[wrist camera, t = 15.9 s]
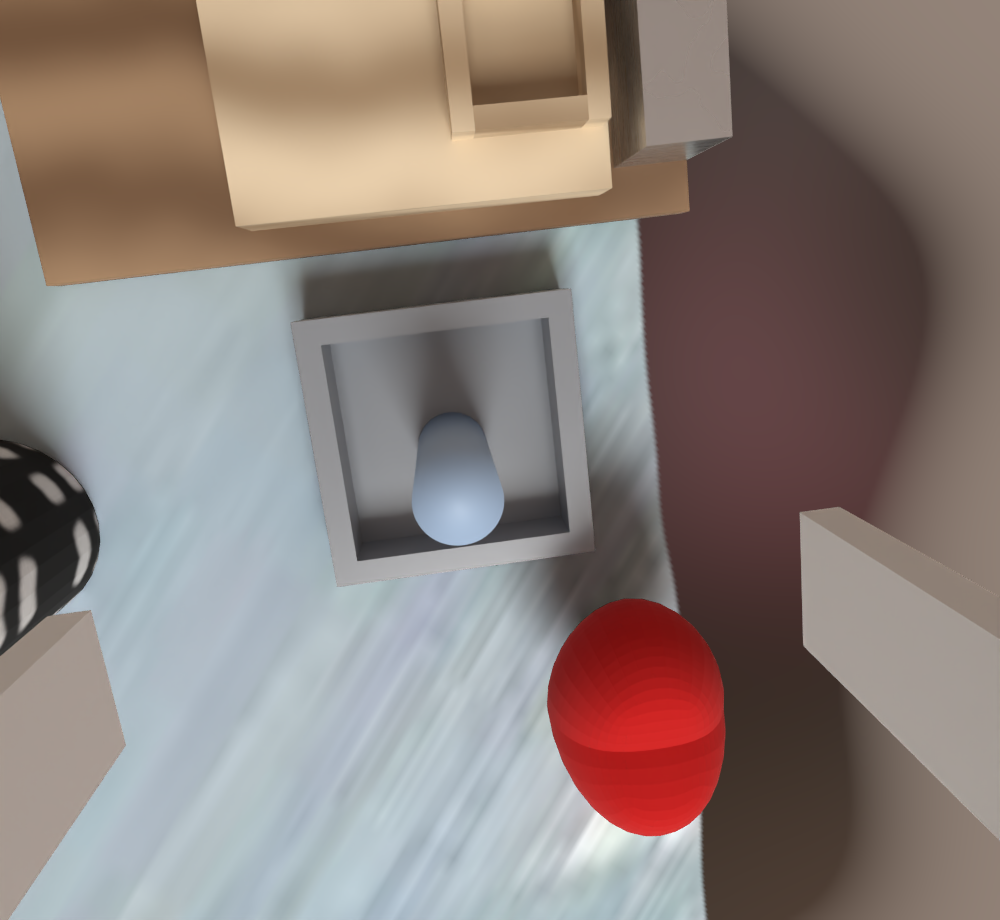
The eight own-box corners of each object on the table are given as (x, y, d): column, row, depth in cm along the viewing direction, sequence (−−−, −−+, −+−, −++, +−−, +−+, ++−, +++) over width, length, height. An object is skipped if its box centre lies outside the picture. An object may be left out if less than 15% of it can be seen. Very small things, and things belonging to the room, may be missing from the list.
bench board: (-48, -163, 28) (-69, -183, 27) (654, -225, 29) (663, -247, 28) (61, 285, 32) (46, 286, 30) (680, 213, 33) (689, 210, 32)
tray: (303, 319, 33) (290, 322, 30) (559, 288, 33) (571, 288, 30) (345, 561, 35) (337, 586, 32) (582, 529, 36) (595, 551, 33)
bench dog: (596, -54, 29) (628, -122, 24) (674, -62, 29) (720, -130, 24) (613, 168, 31) (646, 146, 26) (686, 159, 31) (732, 136, 26)
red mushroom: (521, 554, 36) (552, 655, 26) (669, 535, 36) (754, 628, 26) (539, 732, 38) (575, 886, 28) (679, 712, 38) (761, 858, 28)
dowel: (419, 479, 34) (412, 546, 25) (417, 412, 33) (410, 457, 24) (486, 478, 34) (503, 544, 25) (486, 411, 33) (504, 455, 25)
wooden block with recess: (203, -51, 28) (165, -105, 24) (579, -82, 29) (600, -139, 25) (251, 230, 30) (224, 223, 27) (598, 195, 31) (621, 183, 27)
